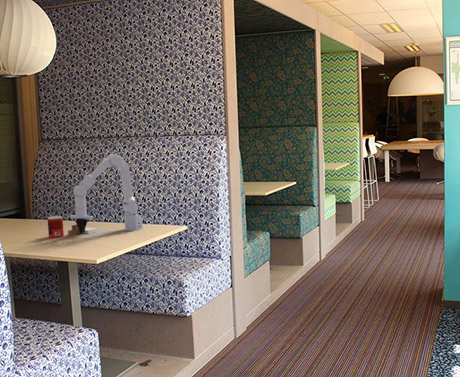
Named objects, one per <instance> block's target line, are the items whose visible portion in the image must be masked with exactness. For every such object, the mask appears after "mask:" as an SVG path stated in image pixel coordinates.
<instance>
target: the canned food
mask: <svg viewBox="0 0 460 377" xmlns="http://www.w3.org/2000/svg"><path fill="white" fill-rule="evenodd" d="M47 227H48V228H47V229H48V232H47V233H48V238H49V239H58V238H63V237H64V236H65V235H64V218H63V216H61V215H56V216H48V217H47Z"/></svg>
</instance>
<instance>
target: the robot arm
mask: <svg viewBox="0 0 460 377" xmlns="http://www.w3.org/2000/svg"><path fill="white" fill-rule="evenodd" d="M112 167H115V168H116V169H118V170H119V171H120V179H121V180H120V181H121V186H122V193H123V200H122V203H123V205H122V210H123V211H124V213H123V214H124V217H123V218H124V228H122V229H121V231H130V232H132V231H133V232H135V231H139V230H144V227H143V217H142V215H141V214H138V211H139V205H138V204H137V202H136V200H135V197H134V192H133V188H132V187H133V186H132V180H131V173H130V166H129V164H128V163H127V161H126V160H125V159H124V158H123V156H121V155H118V154H113V153H110V154H108V155H107V156H106V157H105V158H103V160H102V161H101V162H100V163H99V165H98V166H97V167H96V168H95V169H94V170H93V171H92V172H91V174H87V175H84V177H83V179H82V180H81V181H80V182H78V184H77V185H76V186H75V187H73V190H72V192H73V193H72V194H74V206H75V214H71V215H69V218H70V220H74V223H76V225H78V227H79V230H80V233H84V232H85V228H87V225H88V224H87V223H88V222H89V221H92V220H94V216H93V215H88V212H87V200H86V195H87V192H88V191H89V190H90V189H91V187H92V186H94V184H95V183H96V179H97V178H98V177H99V176H100V175H101V174H102V173H103V172H104V171H105V170H106V169H108V168H112Z"/></svg>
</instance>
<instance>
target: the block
mask: <svg viewBox="0 0 460 377" xmlns="http://www.w3.org/2000/svg"><path fill="white" fill-rule="evenodd" d="M71 230H72V231H73V235H72V236H75V235H74V234H80V230H79V227H78V225H77V224H73V225H71Z"/></svg>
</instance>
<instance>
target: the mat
mask: <svg viewBox="0 0 460 377" xmlns="http://www.w3.org/2000/svg"><path fill="white" fill-rule="evenodd" d="M115 232H116V231H115V230H101V229H100V230H99V229H97V232H94V233H90V234H83V233H80V234H74V235H73V236H77V237H87V238H88V237H89V238H90V237H91V238H97V237H101V236H105V235H108V234H112V233H115Z"/></svg>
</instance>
